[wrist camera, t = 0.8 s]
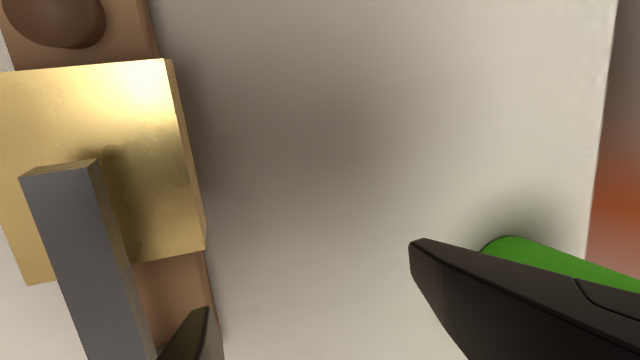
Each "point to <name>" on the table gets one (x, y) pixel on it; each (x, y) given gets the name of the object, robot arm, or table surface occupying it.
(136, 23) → the body
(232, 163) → the table surface
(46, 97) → the gold metal plate
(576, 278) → the robot arm
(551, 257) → the cup
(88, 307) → the lever
